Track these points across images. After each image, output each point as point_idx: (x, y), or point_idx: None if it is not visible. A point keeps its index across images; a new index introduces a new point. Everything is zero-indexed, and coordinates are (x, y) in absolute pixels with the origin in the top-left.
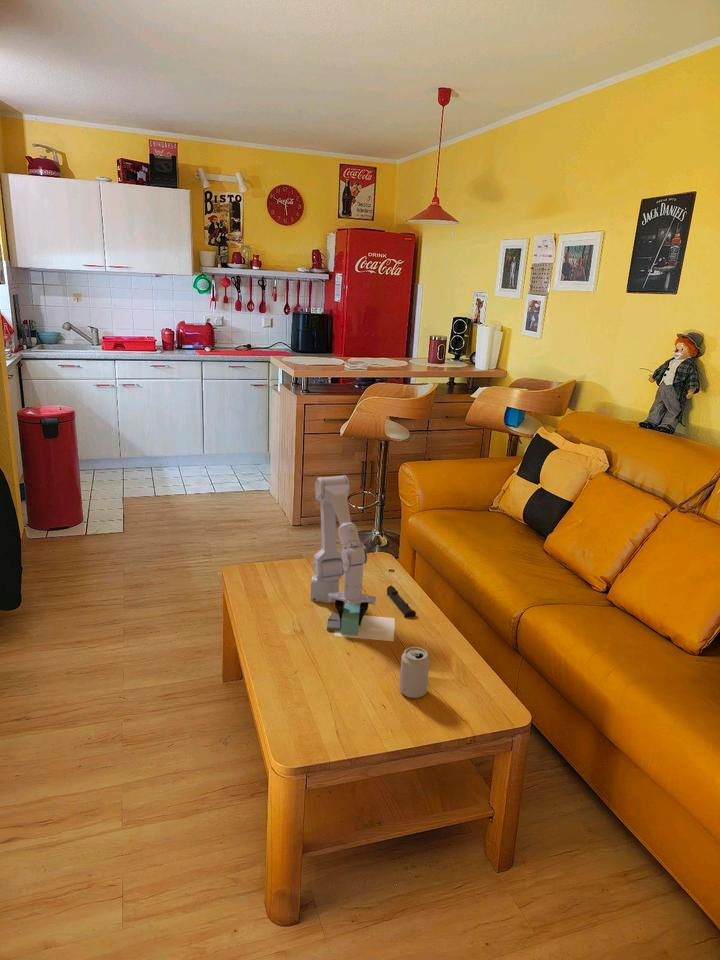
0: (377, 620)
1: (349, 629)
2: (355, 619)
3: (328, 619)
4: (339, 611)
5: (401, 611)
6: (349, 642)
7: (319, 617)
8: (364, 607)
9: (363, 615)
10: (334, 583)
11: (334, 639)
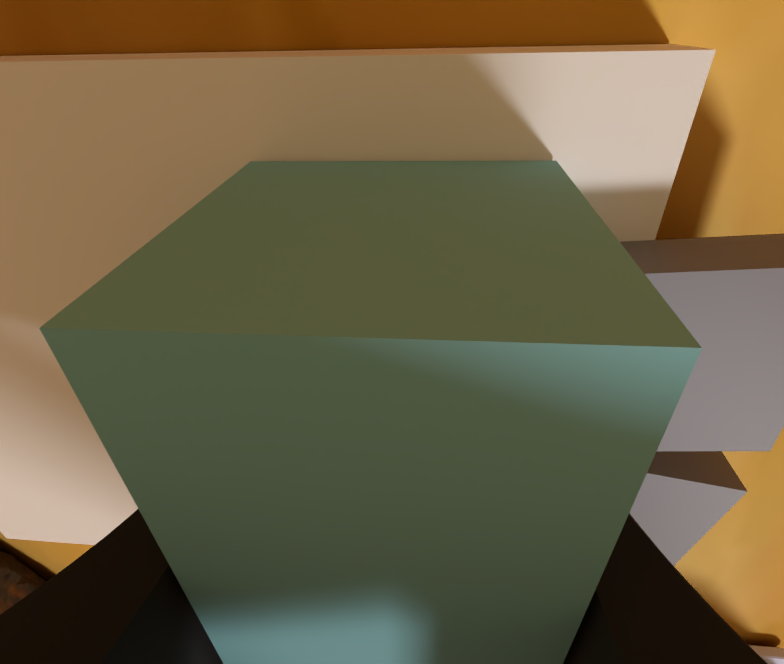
0: (135, 503)
1: (386, 194)
2: (153, 373)
3: (736, 479)
4: (708, 659)
5: (15, 602)
6: (382, 22)
7: (747, 526)
8: None
9: (90, 549)
10: None
11: None
